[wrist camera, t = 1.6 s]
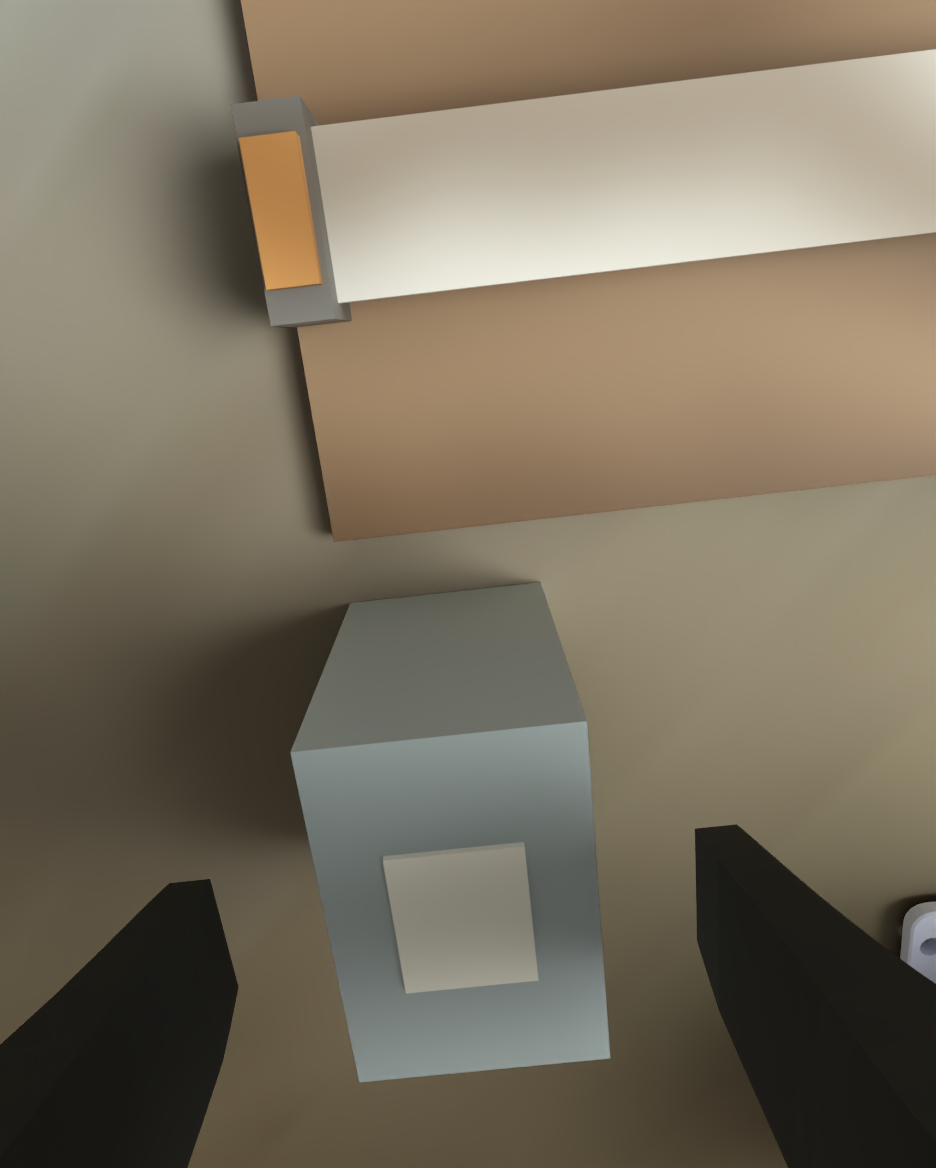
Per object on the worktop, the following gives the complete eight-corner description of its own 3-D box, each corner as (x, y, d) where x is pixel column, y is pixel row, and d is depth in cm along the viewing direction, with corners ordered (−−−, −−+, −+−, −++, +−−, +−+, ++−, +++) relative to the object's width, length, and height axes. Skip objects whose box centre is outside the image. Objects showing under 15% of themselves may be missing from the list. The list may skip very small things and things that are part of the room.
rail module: (561, 825, 18) (611, 1064, 12) (391, 842, 18) (358, 1088, 12) (539, 582, 16) (588, 724, 10) (350, 603, 16) (288, 755, 10)
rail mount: (1240, 434, 15) (1415, 455, 12) (338, 534, 15) (312, 577, 13) (1388, -291, 12) (1678, -486, 9) (224, -138, 12) (154, -277, 9)
